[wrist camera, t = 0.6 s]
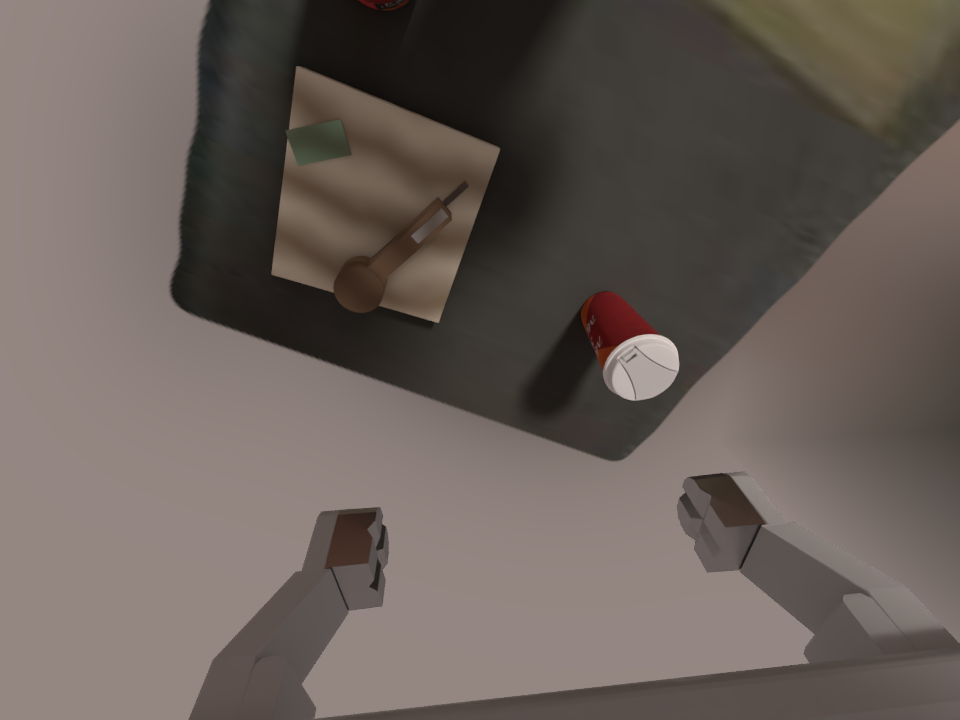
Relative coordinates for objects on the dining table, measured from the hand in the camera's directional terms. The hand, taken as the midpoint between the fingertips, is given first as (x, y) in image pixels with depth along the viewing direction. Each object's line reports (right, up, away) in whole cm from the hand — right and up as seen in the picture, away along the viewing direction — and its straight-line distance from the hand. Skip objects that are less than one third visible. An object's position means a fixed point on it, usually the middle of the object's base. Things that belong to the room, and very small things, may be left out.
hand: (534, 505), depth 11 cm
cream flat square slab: (-12, +20, +34) cm, 41 cm away
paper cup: (+14, +10, +43) cm, 46 cm away
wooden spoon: (-11, +16, +34) cm, 39 cm away
